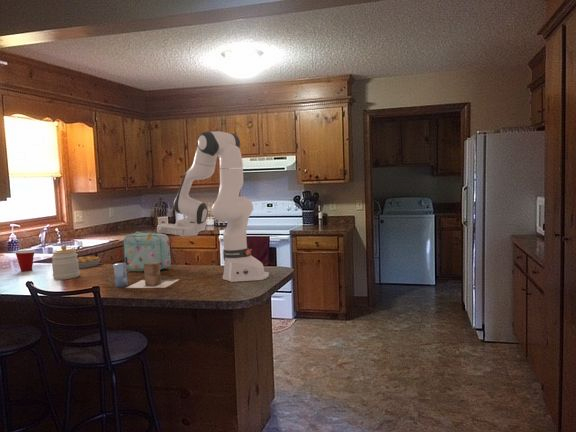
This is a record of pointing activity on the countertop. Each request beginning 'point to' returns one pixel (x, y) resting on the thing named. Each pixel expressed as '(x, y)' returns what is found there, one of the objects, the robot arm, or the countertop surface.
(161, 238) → the lunch box
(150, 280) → the walnut block
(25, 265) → the plastic cup
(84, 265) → the pie
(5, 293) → the countertop surface
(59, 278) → the jar
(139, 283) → the letter board
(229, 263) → the robot arm
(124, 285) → the canister
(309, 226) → the countertop surface
